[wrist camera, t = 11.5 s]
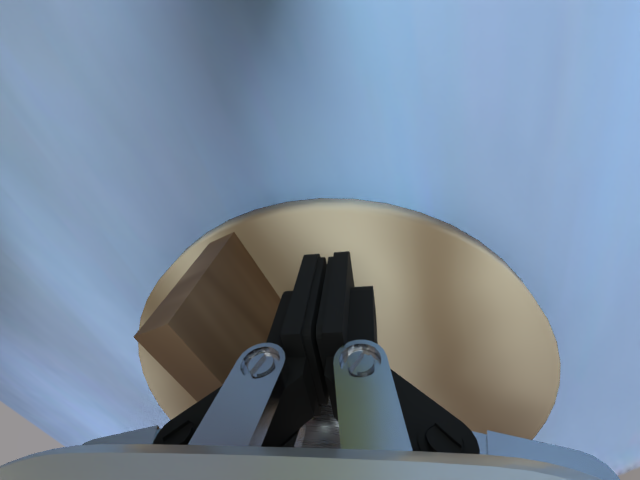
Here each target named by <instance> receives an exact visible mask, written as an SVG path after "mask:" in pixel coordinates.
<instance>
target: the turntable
mask: <svg viewBox="0 0 640 480" xmlns="http://www.w3.org/2000/svg"><path fill="white" fill-rule="evenodd" d="M345 251H349V252H350V257H351V265H352V272H353V279H354V286H355V287H362V286H373V290H374V299H375V308H376V321H377V342H378V345H380V346H381V347H382V348H383V349H384V351H385V353H386V355H387V358H388V362H389V366H390V369H392V370H393V371H394V372H396V373H397V374H398V375H400V376H401V377H402V378H404V379H405V380H406V381H408V382H409V383H411V384H412V385H413V386H415V387H416V388H417V389H419V390H420V391H421V392H423V393H424V394H425V395H427V396H428V397H429V398H431V399H432V400H433V401H435V402H436V403H438V404H439V405H440V406H442V407H443V408H444V409H446V410H447V411H448V412H450V413H451V414H452V415H454V416H455V417H456V418H458V419H459V420H460V421H462V422H463V423H464V424H465V425H466V426H467V427H468V428H469V429H470V430H471V431H474V432H478V433H483V434H487V430H489V431H493V432H498V433H502V434H507V435H511V436H516V437H520V438H525V439H529V440H532V439H533V438H534V437H535V436H536V435H537V433H538V432H539V430H540V429H541V428H542V426H543V425H544V423H545V422H546V420H547V418H548V416H549V414H550V412H551V410H552V408H553V406H554V404H555V400H556V396H557V392H558V388H559V384H560V358H559V353H558V347H557V341H556V339H555V336H554V334H553V331H552V329H551V326H550V324H549V321H548V319H547V318H546V316H545V314H544V313H543V311H542V310H541V308H540V307H539V305H538V304H537V302H536V301H535V299H534V297H533V296H532V295H531V293H530V292H529V290H528V289H527V288H526V286H525V285H524V283H523V282H522V280H521V279H520V278H519V277H518V276H517V275H516V274H515V273H514V271H513V270H512V269H511V268H510V267H509V266H508V265H507V264H506V263H505V262H504V261H503V260H502V259H501V258H500V257H499V256H498V255H496V254H495V253H494V252H492V251H491V250H490V249H489V248H487V247H486V246H485V245H484V244H482V243H481V242H480V241H478V240H477V239H475V238H473V237H471V236H470V235H468V234H466V233H464V232H463V231H461V230H459V229H458V228H456V227H454V226H452V225H450V224H448V223H445V222H443V221H440V220H438V219H436V218H433V217H431V216H428V215H426V214H423V213H421V212H417V211H414V210H410V209H406V208H402V207H399V206H395V205H391V204H387V203H380V202H373V201H365V200H358V199H332V198H318V199H308V200H299V201H290V202H284V203H280V204H276V205H272V206H268V207H263V208H259V209H256V210H253V211H251V212H248V213H245V214H243V215H240V216H238V217H235V218H233V219H230V220H228V221H226V222H225V223H223V224H221V225H219V226H218V227H216V228H214V229H212V230H211V231H209V232H207V233H206V234H204V235H203V236H202V237H201V238H199V239H198V240H197V241H196V242H194V243H193V244H192V245H191V246H189V247H188V248H187V249H186V250H185V251H184V252H183V253H182V255H181V256H180V257H179V258H178V259H177V260H176V261H175V262H174V263H173V265H172V266H171V267H170V268H169V269H168V270H167V271H166V273H165V274H164V275H163V276H162V277H161V278H160V279H159V280H158V282H157V284H156V285H155V287H154V289H153V290H152V292H151V294H150V296H149V297H148V299H147V301H146V304H145V307H144V310H143V313H142V316H141V320H140V327H139V331H138V332H137V333H136V335H135V336H134V338H135V339H136V340H137V341H138V345H139V357H140V361H141V366H142V370H143V374H144V376H145V379H146V381H147V383H148V386H149V388H150V390H151V392H152V394H153V395H154V397H155V399H156V401H157V402H158V404H159V406H160V407H161V408H162V409H163V411H164V412H165V413H166V415H167V416H168V417H169V419H170V420H172V419H173V418H175V417H176V416H178V415H179V414H180V413H182V412H183V411H185V410H186V409H188V408H189V407H191V406H192V405H194V404H195V403H197V402H198V401H200V400H201V399H203V398H204V397H206V396H207V395H209V394H210V393H212V392H213V391H215V390H216V389H218V388H219V387H221V386H222V385H223V384H224V382H225V380H226V379H227V377H228V375H229V373H230V372H231V370H232V368H233V367H234V365H235V363H236V362H237V360H238V358H239V357H240V356H241V355H242V353H244V352H245V351H246V350H247V349H248V348H250V347H252V346H254V345H257V344H261V343H266V341H267V338H268V335H269V332H270V329H271V326H272V323H273V321H274V318H275V315H276V312H277V309H278V306H279V303H280V300H281V297H282V294H283V292H285V291H293V289H294V286H295V282H296V279H297V276H298V272H299V269H300V266H301V262H302V259H303V256H304V255H308V254H320V257H325V258H326V262H327V261H328V257H332V256H333V254H334V252H345Z"/></svg>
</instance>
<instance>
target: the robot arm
mask: <svg viewBox="0 0 640 480" xmlns="http://www.w3.org/2000/svg"><path fill="white" fill-rule="evenodd" d="M329 398H330V402H331V406H332V411H333V415H334V418H335V419H336V420H337V421H338V423H339V434H340V446H341V449H330V448H301V446H302V443H303V440H304V436H305V432H306V423H307V422H308V421H309V420H310V419H312V418H313V417H314V416H321V411H322V405H327V404H328V400H329ZM0 480H620V479H619V477H618V476H617V475H616V474H615V473H614V472H613V471H612V470H611V469H610V468H609V467H608V466H607V465H606V464H605V463H603V462H602V461H600V460H599V459H597V458H596V457H594V456H592V455H590V454H587V453H584V452H581V451H578V450H574V449H569V448H565V447H561V446H556V445H552V444H547V443H543V442H538V441H534V440H529V439H525V438H520V437H516V436H511V435H507V434H502V433H498V432H493V431H489V430H487V434H483V433H478V432H474V431H471V430H470V429H469V428H468V427H467V426H466V425H465V424H464V423H463V422H462V421H460V420H459V419H458V418H456V417H455V416H454V415H452V414H451V413H450V412H448V411H447V410H446V409H444V408H443V407H442V406H440V405H439V404H438V403H436V402H435V401H433V400H432V399H431V398H429V397H428V396H427V395H425V394H424V393H423V392H421V391H420V390H419V389H417V388H416V387H415V386H413V385H412V384H411V383H409V382H408V381H406V380H405V379H404V378H402V377H401V376H400V375H398V374H397V373H396V372H394V371H393V370H392V369H390V366H389V362H388V358H387V355H386V353H385V351H384V349H383V348H382V347H381V346H380V345H378V342H377V321H376V308H375V299H374V290H373V286H362V287H355V286H354V279H353V272H352V265H351V257H350V252H349V251H345V252H334V254H333V256H332V257H328V261H327V262H326V258H325V257H320V254H308V255H304V256H303V259H302V262H301V266H300V269H299V272H298V276H297V279H296V282H295V286H294V289H293V291H285V292H283V294H282V297H281V300H280V303H279V306H278V309H277V312H276V315H275V318H274V321H273V323H272V326H271V329H270V332H269V335H268V338H267V341H266V343H261V344H257V345H254V346H252V347H250V348H248V349H247V350H246V351H245V352H244V353H242V355H241V356H240V357H239V358H238V360H237V362H236V363H235V365H234V367H233V368H232V370H231V372H230V373H229V375H228V377H227V379H226V380H225V382H224V384H223V385H222V386H221V387H219V388H218V389H216V390H215V391H213V392H212V393H210V394H209V395H207V396H206V397H204V398H203V399H201V400H200V401H198V402H197V403H195V404H194V405H192V406H191V407H189V408H188V409H186V410H185V411H183V412H182V413H180V414H179V415H178V416H176V417H175V418H173V419H172V420H170V421H169V422H168V423H167V424H166V425H164V427H163V428H162V429H160V428H159V426H158V425H157V426H152V427H148V428H143V429H138V430H134V431H129V432H125V433H120V434H116V435H111V436H106V437H102V438H97V439H93V440H91V441H88V442H86V443H84V444H82V445H76V446H69V447H63V448H57V449H51V450H47V451H43V452H39V453H35V454H31V455H28V456H25V457H22V458H19V459H17V460H14V461H11V462H8V463H6V464H4V465H2V466H0Z"/></svg>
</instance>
